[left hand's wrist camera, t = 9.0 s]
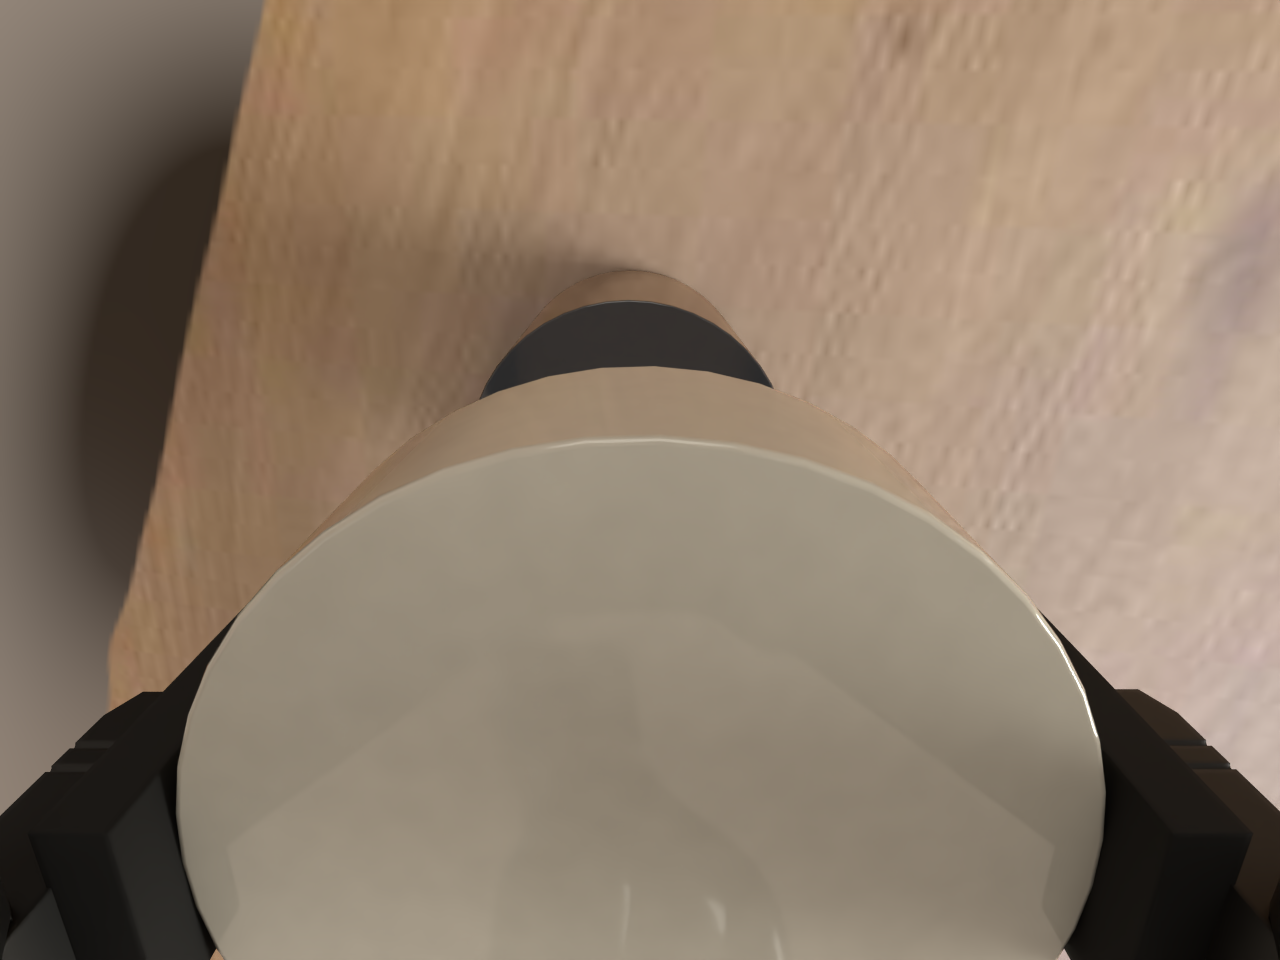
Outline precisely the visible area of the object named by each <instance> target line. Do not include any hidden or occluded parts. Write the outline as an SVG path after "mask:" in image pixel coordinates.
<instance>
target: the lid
mask: <svg viewBox="0 0 1280 960" xmlns="http://www.w3.org/2000/svg"><path fill="white" fill-rule="evenodd" d="M1105 798H1106V789H1105V781H1104V772H1103V763H1102V755H1101V746H1100V739H1099V736H1098V732H1097V729H1096V726H1095V722H1094V719H1093V716H1092V712H1091V709H1090V705H1089V702H1088V699H1087V695H1086V692H1085V689H1084V687H1083V685H1082V683H1081V681H1080V679H1079V677H1078V675H1077V673H1076V671H1075V669H1074V667H1073V665H1072V663H1071V661H1070V659H1069V657H1068V655H1067V653H1066V651H1065V649H1064V647H1063V645H1062V643H1061V641H1060V639H1059V638H1058V637H1057V635H1056V634H1055V632H1054V631H1053V630H1052V628H1051V627H1050V626H1049V624H1048V623H1047V621H1046V620H1045V619H1044V617H1043V616H1042V615H1041V613H1040V612H1039V610H1038V609H1037V608H1036V606H1035V605H1034V604H1033V602H1032V601H1031V599H1030V598H1029V597H1028V595H1027V594H1026V593H1025V592H1024V591H1023V590H1022V589H1021V588H1020V587H1019V586H1018V585H1017V584H1016V583H1015V582H1014V581H1013V580H1012V579H1011V577H1010V576H1009V575H1008V574H1007V573H1006V572H1005V571H1004V570H1003V569H1002V568H1001V567H1000V566H999V565H998V564H997V563H996V562H995V561H994V560H993V559H992V558H991V557H990V556H989V555H988V554H987V553H986V552H985V551H984V550H983V548H982V547H981V546H980V545H979V544H978V543H977V542H976V541H975V540H974V539H973V538H972V537H971V536H970V535H969V534H968V533H967V532H966V531H965V530H964V529H963V528H962V527H961V526H960V525H959V524H958V523H957V522H956V521H955V519H954V518H953V517H952V516H951V515H950V514H949V513H948V512H947V511H946V510H945V509H944V508H943V507H942V506H941V505H940V504H939V503H938V502H937V501H936V500H935V499H934V498H933V497H932V496H931V495H930V494H929V493H928V492H927V490H926V489H925V488H924V487H923V486H922V485H921V484H920V483H919V482H918V481H917V480H916V479H915V478H914V477H913V476H912V475H911V474H910V473H909V472H908V471H907V470H906V469H905V468H904V467H903V466H902V465H901V464H900V463H899V462H898V461H897V460H896V459H895V458H894V457H893V456H892V455H890V454H889V453H888V452H886V451H885V450H884V449H882V448H881V447H880V446H878V445H877V444H876V443H874V442H873V441H872V440H870V439H869V438H867V437H866V436H865V435H863V434H862V433H861V432H859V431H858V430H857V429H855V428H854V427H853V426H851V425H849V424H847V423H846V422H844V421H842V420H840V419H838V418H836V417H835V416H833V415H831V414H829V413H827V412H825V411H824V410H822V409H820V408H818V407H816V406H814V405H813V404H811V403H809V402H807V401H804V400H801V399H799V398H796V397H794V396H791V395H788V394H786V393H783V392H780V391H778V390H775V389H772V388H770V387H767V386H764V385H762V384H759V383H755V382H751V381H746V380H742V379H738V378H733V377H729V376H725V375H721V374H716V373H712V372H707V371H697V370H687V369H677V368H667V367H657V366H647V367H615V368H597V369H591V370H585V371H579V372H573V373H567V374H560V375H554V376H548V377H545V378H542V379H538V380H535V381H532V382H528V383H525V384H522V385H518V386H515V387H512V388H508V389H505V390H502V391H498V392H496V393H494V394H492V395H490V396H487V397H485V398H483V399H481V400H479V401H476V402H474V403H472V404H470V405H468V406H465V407H463V408H461V409H459V410H457V411H454V412H452V413H450V414H449V415H447V416H446V417H444V418H443V419H441V420H439V421H438V422H436V423H435V424H433V425H432V426H430V427H428V428H427V429H425V430H424V431H422V432H420V433H419V434H417V435H416V436H414V437H413V438H411V439H410V440H408V441H407V442H406V443H405V444H404V445H403V446H401V447H400V448H399V449H398V450H397V451H396V452H394V453H393V454H392V455H391V456H390V457H389V458H387V459H386V460H385V461H384V462H383V463H382V464H380V465H379V466H378V467H377V468H376V469H374V470H373V471H372V472H371V474H370V475H369V476H368V477H367V478H366V479H365V480H364V481H363V482H362V483H361V484H360V485H359V486H358V487H357V488H356V489H355V490H354V491H353V492H352V493H351V494H350V495H349V496H348V497H347V498H346V499H345V500H344V501H343V502H342V504H341V505H340V506H339V507H338V508H337V509H336V510H335V511H334V512H333V513H332V514H331V515H330V516H329V517H328V518H327V519H326V520H325V521H324V522H323V523H322V524H321V525H320V526H319V527H318V528H317V529H316V530H315V531H314V532H313V533H312V535H311V536H310V537H309V538H308V539H307V540H306V541H305V542H304V543H303V544H302V545H301V546H300V547H299V548H298V549H297V550H296V551H295V552H294V553H293V554H292V555H291V556H290V557H289V558H288V559H287V560H286V561H285V562H284V563H283V565H282V566H281V567H280V568H279V569H278V570H277V571H276V572H275V573H274V574H273V575H272V576H271V578H270V579H269V580H268V581H267V582H266V583H265V585H264V586H263V587H262V588H261V589H260V590H259V591H258V593H257V594H256V595H255V596H254V597H253V598H252V600H251V601H250V602H249V603H248V604H247V605H246V606H245V608H244V609H243V610H242V611H241V612H240V613H239V615H238V616H237V617H236V619H235V621H234V622H233V624H232V625H231V627H230V629H229V630H228V632H227V634H226V635H225V637H224V638H223V640H222V642H221V643H220V645H219V647H218V648H217V650H216V651H215V653H214V655H213V656H212V658H211V660H210V661H209V663H208V665H207V668H206V670H205V673H204V675H203V678H202V680H201V683H200V685H199V688H198V690H197V693H196V695H195V698H194V700H193V703H192V705H191V708H190V710H189V713H188V718H187V722H186V727H185V732H184V737H183V742H182V746H181V751H180V756H179V761H178V766H177V796H176V819H177V827H178V834H179V841H180V848H181V855H182V862H183V865H184V869H185V872H186V875H187V878H188V882H189V885H190V888H191V891H192V894H193V898H194V901H195V904H196V907H197V909H198V911H199V913H200V915H201V917H202V919H203V921H204V924H205V926H206V928H207V930H208V932H209V934H210V936H211V938H212V940H213V942H214V944H215V946H216V948H217V950H218V951H219V953H220V954H221V956H222V957H223V959H224V960H1058V958H1059V956H1060V954H1061V953H1062V951H1063V949H1064V948H1065V946H1066V944H1067V942H1068V941H1069V939H1070V937H1071V936H1072V934H1073V932H1074V930H1075V929H1076V926H1077V924H1078V921H1079V919H1080V916H1081V914H1082V911H1083V909H1084V906H1085V904H1086V901H1087V899H1088V896H1089V894H1090V891H1091V889H1092V886H1093V882H1094V878H1095V873H1096V869H1097V865H1098V860H1099V856H1100V851H1101V847H1102V843H1103V833H1104V816H1105Z"/></svg>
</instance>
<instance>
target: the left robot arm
mask: <svg viewBox="0 0 1280 960" xmlns="http://www.w3.org/2000/svg"><path fill="white" fill-rule="evenodd" d="M244 608H245V607H244ZM244 608H243V609H244ZM243 609H242V610H243ZM242 610H241V611H242ZM241 611H240V612H241ZM240 612H239V613H240ZM1039 612H1040V611H1039ZM239 613H238V614H237V615H236V616H235V618H234V619H233V620H232V621H231V622H230V623H229V624H228V625H227V626H226V627H225V628H224V629H223V630H222V631H221V632H220V633H219V634H218V635H217V636H216V637H215V638H214V639H213V640H212V641H211V643H210V644H209V645H208V646H207V647H206V648H205V649H204V650H203V651H202V652H201V653H200V654H199V655H198V656H197V657H196V658H195V659H194V660H193V661H192V662H191V663H190V664H189V665H188V666H187V668H186V669H185V670H184V671H183V672H182V673H181V674H180V675H179V676H178V677H177V678H176V679H175V680H174V681H173V682H172V683H171V684H170V685H169V686H168V687H167V688H166V689H165V690H164V691H163V692H142V693H140V694H139V695H137V696H135V697H134V698H132V699H130V700H129V701H127V702H125V703H124V704H122V705H120V706H119V707H117V708H115V709H114V710H112V711H110V712H109V713H107V714H105V715H104V716H103V717H102V718H101V719H100V720H99V721H98V722H96V723H95V724H94V725H93V726H92V727H91V728H90V729H89V730H88V731H87V732H86V733H85V734H84V735H83V736H82V737H81V738H80V739H79V740H78V741H77V742H76V744H75V748H70V749H69V750H68V751H67V752H66V753H65V754H63V755H62V756H61V757H60V758H59V759H58V760H57V761H56V762H55V763H54V764H53V765H52V769H51V771H50V772H45V773H44V774H43V775H42V776H41V777H40V778H39V779H38V780H37V781H36V782H35V783H34V784H33V785H32V786H31V787H30V788H29V789H27V790H26V791H25V792H24V793H23V794H22V795H21V796H20V797H19V798H18V799H17V800H16V801H15V802H14V803H13V804H12V805H11V806H10V807H9V808H8V809H7V810H6V811H5V812H4V813H3V814H2V815H1V816H0V960H210V959H211V957H212V955H213V953H214V951H215V950H216V946H215V944H214V942H213V940H212V938H211V936H210V934H209V932H208V930H207V928H206V926H205V924H204V921H203V919H202V917H201V915H200V913H199V911H198V909H197V907H196V904H195V901H194V898H193V894H192V891H191V888H190V885H189V882H188V878H187V875H186V872H185V869H184V865H183V862H182V855H181V848H180V841H179V834H178V827H177V819H176V796H177V766H178V761H179V756H180V751H181V746H182V742H183V737H184V732H185V727H186V722H187V718H188V713H189V710H190V708H191V705H192V703H193V700H194V698H195V695H196V693H197V690H198V688H199V685H200V683H201V680H202V678H203V675H204V673H205V670H206V668H207V665H208V663H209V661H210V660H211V658H212V656H213V655H214V653H215V651H216V650H217V648H218V647H219V645H220V643H221V642H222V640H223V638H224V637H225V635H226V634H227V632H228V630H229V629H230V627H231V625H232V624H233V622H234V621H235V619H236V617H237V616H238V615H239ZM1040 613H1041V612H1040ZM1041 615H1042V616H1043V617H1044V619H1045V620H1046V621H1047V623H1048V624H1049V626H1050V627H1051V628H1052V630H1053V631H1054V632H1055V634H1056V635H1057V637H1058V638H1059V639H1060V641H1061V643H1062V645H1063V647H1064V649H1065V651H1066V653H1067V655H1068V657H1069V659H1070V661H1071V663H1072V665H1073V667H1074V669H1075V671H1076V673H1077V675H1078V677H1079V679H1080V681H1081V683H1082V685H1083V687H1084V689H1085V692H1086V695H1087V699H1088V702H1089V705H1090V709H1091V712H1092V716H1093V719H1094V722H1095V726H1096V729H1097V732H1098V736H1099V739H1100V746H1101V755H1102V763H1103V772H1104V781H1105V789H1106V798H1105V816H1104V833H1103V843H1102V847H1101V851H1100V856H1099V860H1098V865H1097V869H1096V873H1095V878H1094V882H1093V886H1092V889H1091V891H1090V894H1089V896H1088V899H1087V901H1086V904H1085V906H1084V909H1083V911H1082V914H1081V916H1080V919H1079V921H1078V924H1077V926H1076V929H1075V930H1074V932H1073V934H1072V936H1071V937H1070V939H1069V941H1068V942H1067V944H1066V946H1065V948H1064V949H1065V951H1066V952H1067V954H1068V956H1069V958H1070V959H1071V960H1280V811H1279V810H1278V809H1277V808H1276V807H1275V806H1274V805H1273V804H1272V803H1271V802H1269V801H1268V800H1267V799H1266V798H1265V797H1264V796H1263V795H1262V794H1261V793H1260V792H1259V791H1258V790H1257V789H1256V788H1255V787H1254V786H1253V785H1252V784H1251V783H1250V782H1249V781H1248V780H1247V779H1246V778H1245V777H1244V776H1243V775H1241V774H1240V773H1239V772H1238V771H1237V770H1236V769H1231V768H1230V763H1229V762H1228V761H1227V760H1226V759H1225V758H1224V757H1223V756H1222V755H1221V754H1220V753H1219V752H1218V751H1217V750H1216V749H1214V748H1213V747H1212V746H1207V744H1206V740H1205V739H1204V738H1203V737H1202V736H1201V735H1200V734H1199V733H1198V732H1197V731H1196V730H1195V729H1194V728H1193V727H1192V726H1191V725H1190V724H1189V723H1188V722H1186V721H1185V720H1184V719H1183V718H1182V717H1181V716H1180V715H1179V714H1178V713H1177V712H1175V711H1174V710H1172V709H1170V708H1169V707H1167V706H1165V705H1164V704H1162V703H1160V702H1159V701H1157V700H1155V699H1153V698H1152V697H1150V696H1148V695H1147V694H1145V693H1143V692H1142V691H1140V690H1138V689H1114V688H1113V687H1112V686H1111V685H1110V684H1109V683H1108V682H1107V681H1106V679H1105V678H1104V677H1103V676H1102V675H1101V674H1100V673H1099V672H1098V671H1097V670H1096V669H1095V668H1094V667H1093V666H1092V665H1091V664H1090V663H1089V662H1088V661H1087V660H1086V659H1085V658H1084V657H1083V656H1082V654H1081V653H1080V652H1079V651H1078V650H1077V649H1076V648H1075V647H1074V646H1073V645H1072V644H1071V643H1070V642H1069V641H1068V640H1067V639H1066V638H1065V637H1064V636H1063V635H1062V634H1061V633H1060V632H1059V631H1058V629H1057V628H1056V627H1055V626H1054V625H1053V624H1052V623H1051V622H1050V621H1049V620H1048V619H1047V618H1046V617H1045V616H1044V615H1043V614H1042V613H1041Z"/></svg>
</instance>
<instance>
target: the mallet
mask: <svg viewBox="0 0 1280 960" xmlns="http://www.w3.org/2000/svg"><path fill="white" fill-rule="evenodd" d="M647 366H657V367H667V368H677V369H687V370H697V371H707V372H712V373H716V374H721V375H725V376H729V377H733V378H738V379H742V380H746V381H751V382H755V383H759V384H762V385H764V386H767V387H770V388H772V389H774V388H773V386H772V384H771V382H770V380H769V379H768V377H767V375H766V374H765V372H764V371H763V369H762V367H761V366H760V364H759V363H758V362H757V361H756V359H755V358H754V357H753V355H752V354H751V353H750V351H749V350H748V349H747V348H746V346H745V345H744V344H743V342H742V341H741V340H740V338H739V337H738V336H737V334H736V333H735V332H734V331H733V329H732V328H731V327H730V325H729V324H728V323H727V321H726V320H725V319H724V318H723V316H722V315H721V314H720V313H719V312H718V310H717V309H716V308H715V307H714V306H713V305H712V304H711V303H710V302H709V301H708V300H707V299H706V298H705V297H703V296H702V295H701V294H699V293H698V292H697V291H695V290H694V289H692V288H691V287H689V286H687V285H685V284H683V283H681V282H679V281H677V280H675V279H673V278H670V277H667V276H664V275H661V274H656V273H651V272H647V271H634V270H625V271H613V272H608V273H603V274H598V275H595V276H593V277H590V278H587V279H584V280H582V281H580V282H578V283H576V284H574V285H572V286H570V287H569V288H567V289H566V290H564V291H563V292H561V293H560V294H559V295H557V296H556V297H555V298H554V299H553V300H552V301H551V302H549V303H548V304H547V305H546V306H545V307H544V309H543V310H542V311H541V312H540V313H539V315H538V316H537V317H536V318H535V320H534V321H533V322H532V323H531V324H530V326H529V327H528V328H527V329H526V331H525V332H524V333H523V334H522V336H521V337H520V338H519V339H518V341H517V342H516V343H515V344H514V346H513V347H512V348H511V349H510V351H509V352H508V353H507V354H506V356H505V357H504V358H503V359H502V361H501V362H500V363H499V364H498V366H497V367H496V369H495V370H494V372H493V373H492V375H491V377H490V378H489V380H488V382H487V383H486V385H485V388H484V390H483V392H482V394H481V397H480V399H479V400H481V399H483V398H485V397H487V396H490V395H492V394H494V393H496V392H498V391H502V390H505V389H508V388H512V387H515V386H518V385H522V384H525V383H528V382H532V381H535V380H538V379H542V378H545V377H548V376H554V375H560V374H567V373H573V372H579V371H585V370H591V369H597V368H615V367H647Z"/></svg>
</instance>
